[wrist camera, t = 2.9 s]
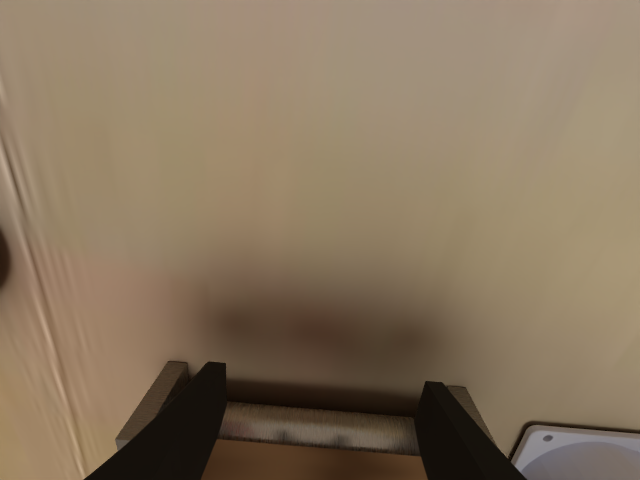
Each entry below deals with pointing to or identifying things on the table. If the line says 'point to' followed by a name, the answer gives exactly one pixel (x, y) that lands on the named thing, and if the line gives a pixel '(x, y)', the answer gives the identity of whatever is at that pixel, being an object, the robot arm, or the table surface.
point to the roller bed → (294, 421)
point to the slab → (306, 463)
